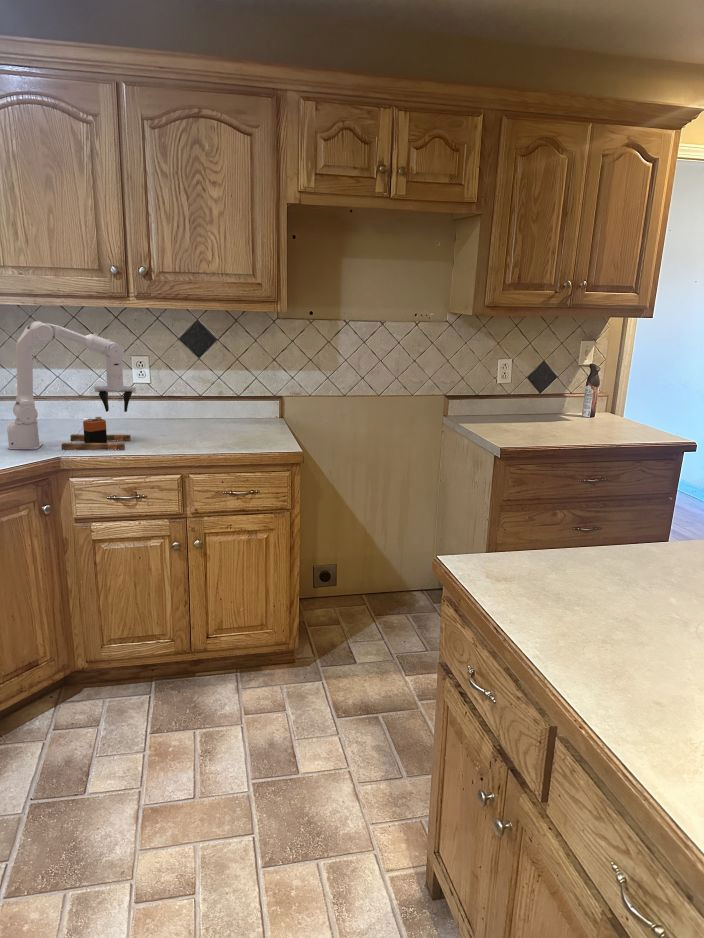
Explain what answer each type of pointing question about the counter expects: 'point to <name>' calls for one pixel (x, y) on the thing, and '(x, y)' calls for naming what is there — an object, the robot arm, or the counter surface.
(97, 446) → the guide channel
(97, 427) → the battery
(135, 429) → the counter surface
